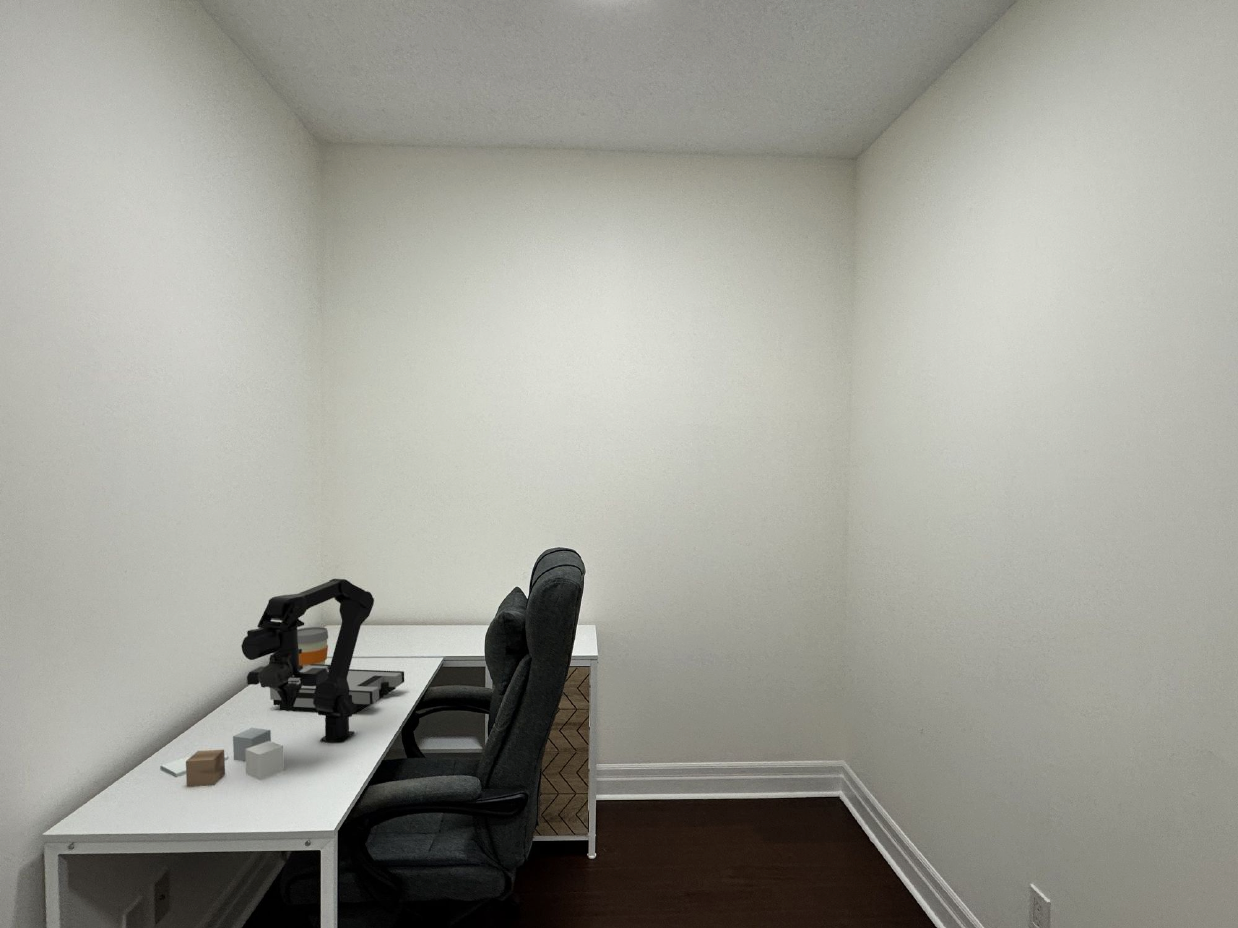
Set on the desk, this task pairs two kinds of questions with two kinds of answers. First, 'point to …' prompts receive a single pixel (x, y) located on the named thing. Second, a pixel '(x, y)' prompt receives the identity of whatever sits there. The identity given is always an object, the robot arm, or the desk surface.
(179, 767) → the external hard drive
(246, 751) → the off-white cube
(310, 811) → the desk surface
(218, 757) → the walnut block
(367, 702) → the game console
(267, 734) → the slate-grey block
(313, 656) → the reusable coffee cup
